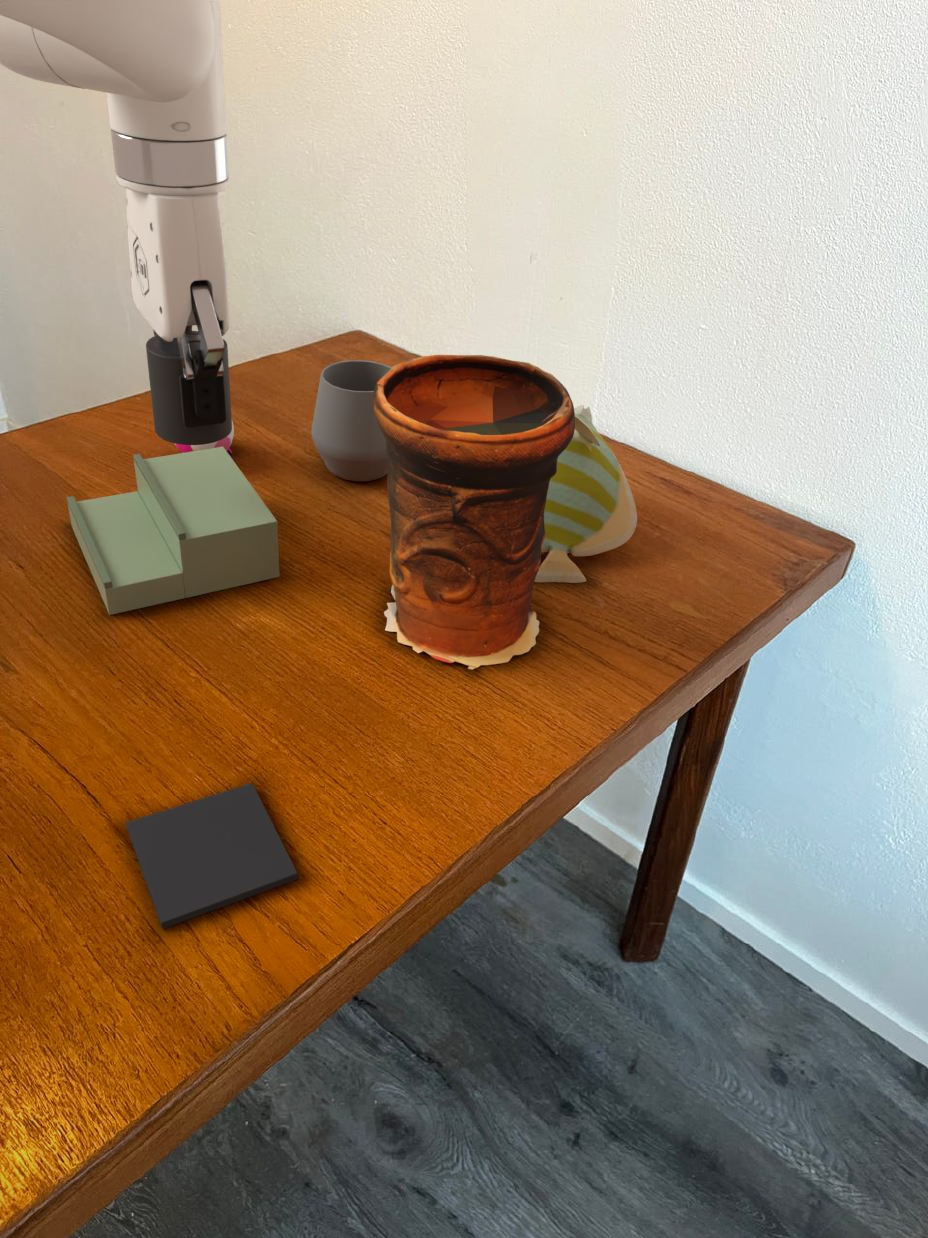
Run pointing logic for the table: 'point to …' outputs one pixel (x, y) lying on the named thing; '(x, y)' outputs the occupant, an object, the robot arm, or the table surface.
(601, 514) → the decorative fish sculpture
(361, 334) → the table surface
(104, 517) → the green stepped riser
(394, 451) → the vessel
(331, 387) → the cup
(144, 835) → the pad
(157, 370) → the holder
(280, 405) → the table surface
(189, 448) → the stress ball
